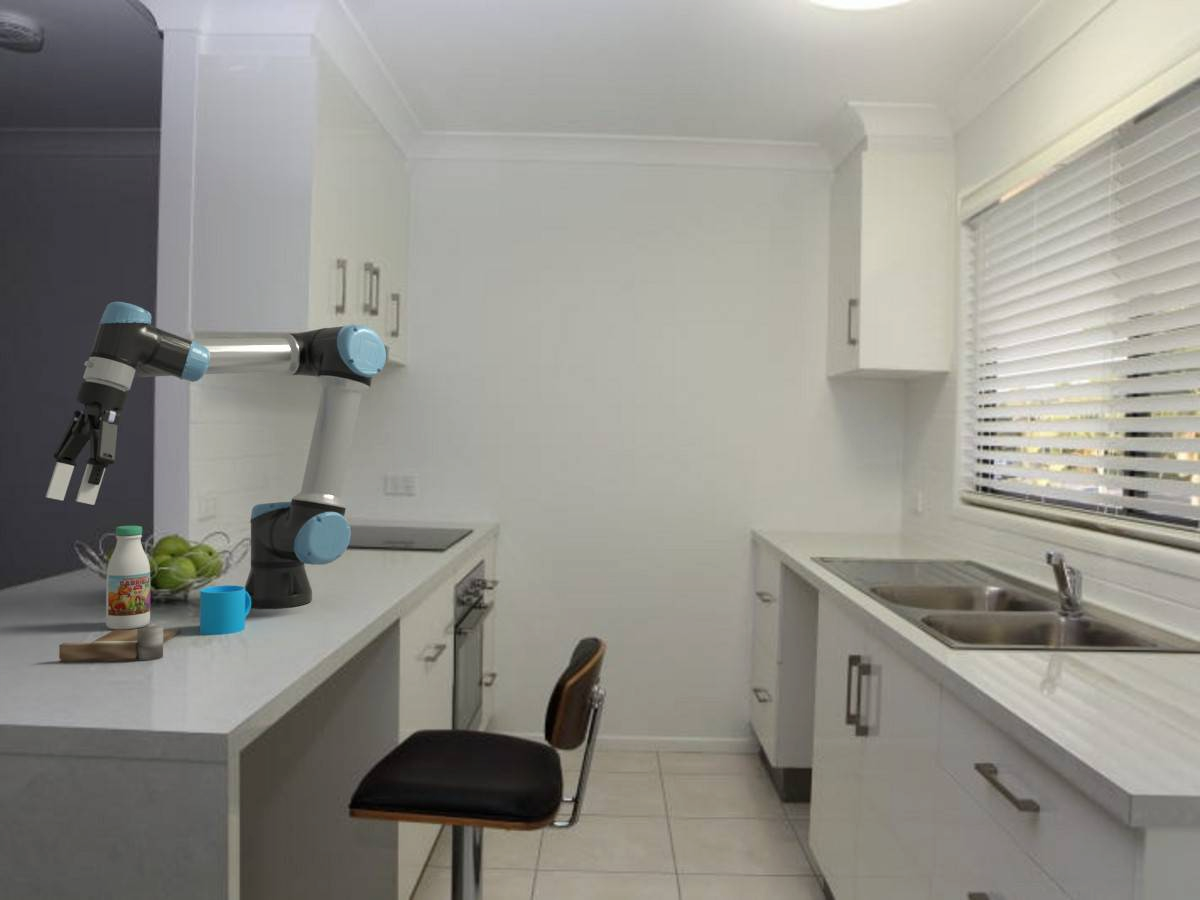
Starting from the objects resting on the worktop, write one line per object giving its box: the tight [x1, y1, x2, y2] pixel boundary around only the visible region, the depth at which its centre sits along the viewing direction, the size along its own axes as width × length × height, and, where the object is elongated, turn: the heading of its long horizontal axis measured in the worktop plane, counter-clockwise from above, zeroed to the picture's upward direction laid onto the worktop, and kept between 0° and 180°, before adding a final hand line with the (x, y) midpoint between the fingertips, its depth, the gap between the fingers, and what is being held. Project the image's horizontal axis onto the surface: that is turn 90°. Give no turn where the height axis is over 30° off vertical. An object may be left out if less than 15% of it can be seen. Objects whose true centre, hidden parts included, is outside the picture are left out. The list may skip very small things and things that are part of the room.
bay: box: [58, 625, 181, 663], centre depth 153 cm, size 16×21×5 cm
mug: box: [199, 584, 252, 636], centre depth 169 cm, size 12×8×8 cm
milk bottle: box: [105, 525, 151, 630], centre depth 168 cm, size 8×8×20 cm
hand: (69, 501), depth 147 cm, fingers open, 13 cm apart
